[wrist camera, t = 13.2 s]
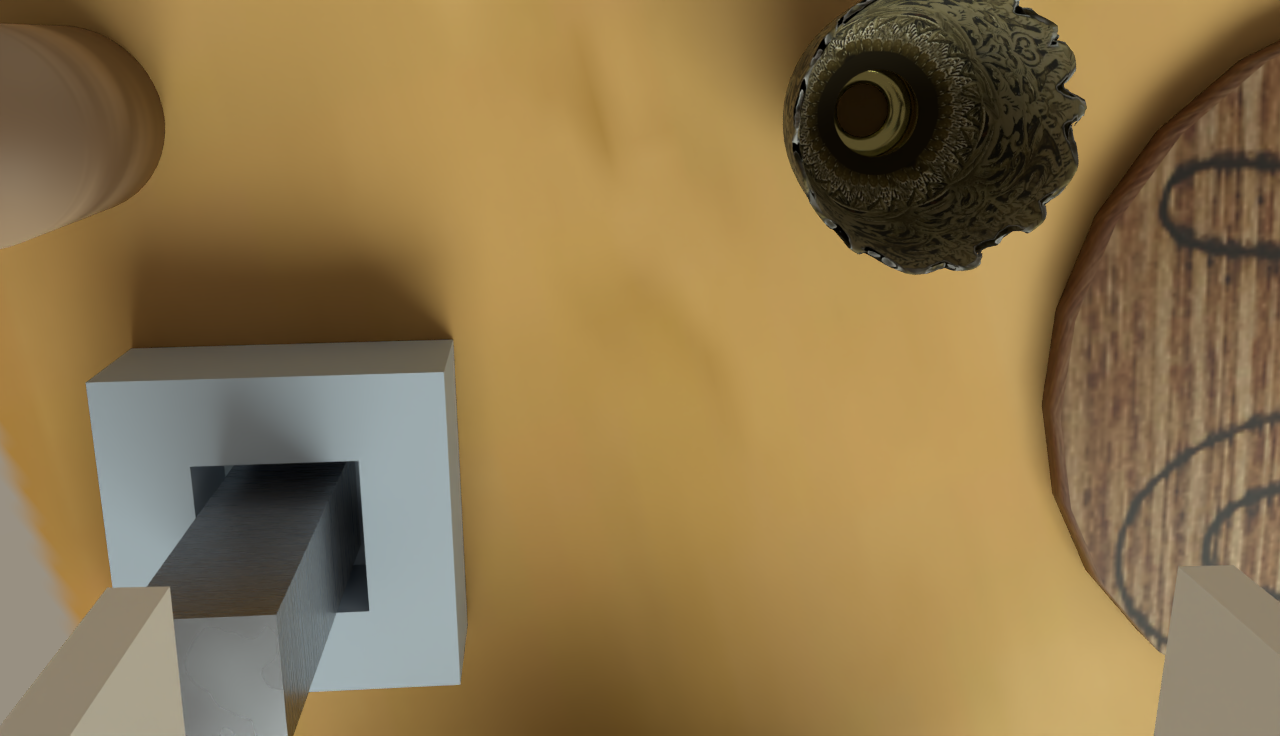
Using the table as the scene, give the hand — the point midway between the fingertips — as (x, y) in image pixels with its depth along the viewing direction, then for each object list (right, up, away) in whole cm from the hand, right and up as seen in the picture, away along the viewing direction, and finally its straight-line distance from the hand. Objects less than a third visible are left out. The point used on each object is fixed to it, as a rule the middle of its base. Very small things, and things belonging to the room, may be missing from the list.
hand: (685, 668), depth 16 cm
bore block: (-11, 0, +24) cm, 27 cm away
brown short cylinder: (-18, +11, +21) cm, 29 cm away
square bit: (-11, 0, +24) cm, 26 cm away
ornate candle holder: (+6, +12, +22) cm, 26 cm away
